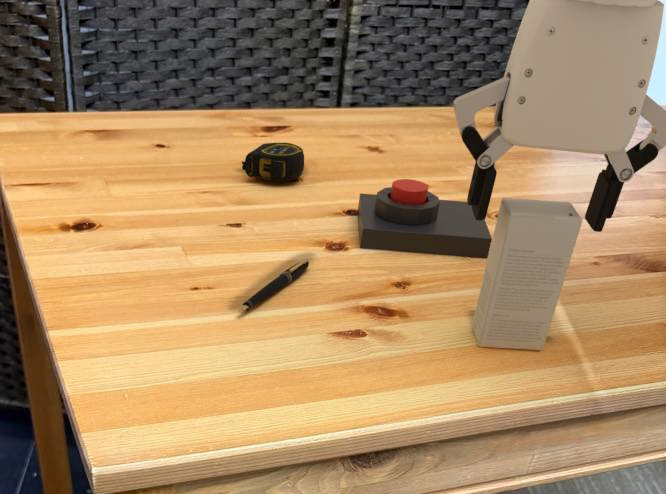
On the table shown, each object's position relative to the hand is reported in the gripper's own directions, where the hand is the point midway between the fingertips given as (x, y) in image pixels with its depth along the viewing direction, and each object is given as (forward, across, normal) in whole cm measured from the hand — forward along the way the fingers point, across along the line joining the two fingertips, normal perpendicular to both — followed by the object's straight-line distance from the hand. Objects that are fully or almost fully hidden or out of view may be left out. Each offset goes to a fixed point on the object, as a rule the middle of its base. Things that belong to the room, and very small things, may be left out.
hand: (535, 220), depth 68 cm
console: (+11, +6, -24) cm, 27 cm away
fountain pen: (+11, +21, -6) cm, 25 cm away
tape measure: (+11, +24, -39) cm, 47 cm away
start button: (+7, +8, -24) cm, 26 cm away
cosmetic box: (+11, 0, 0) cm, 11 cm away
